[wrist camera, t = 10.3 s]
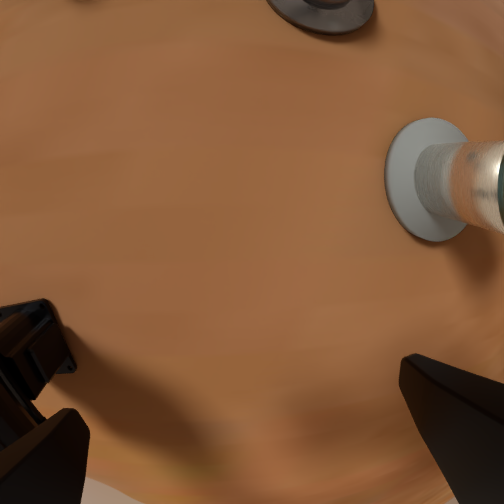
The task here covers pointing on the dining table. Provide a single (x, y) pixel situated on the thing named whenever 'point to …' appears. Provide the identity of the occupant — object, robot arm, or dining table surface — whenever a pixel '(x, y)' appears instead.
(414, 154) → the coaster
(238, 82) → the dining table surface
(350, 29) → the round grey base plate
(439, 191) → the drinking glass
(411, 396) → the robot arm
